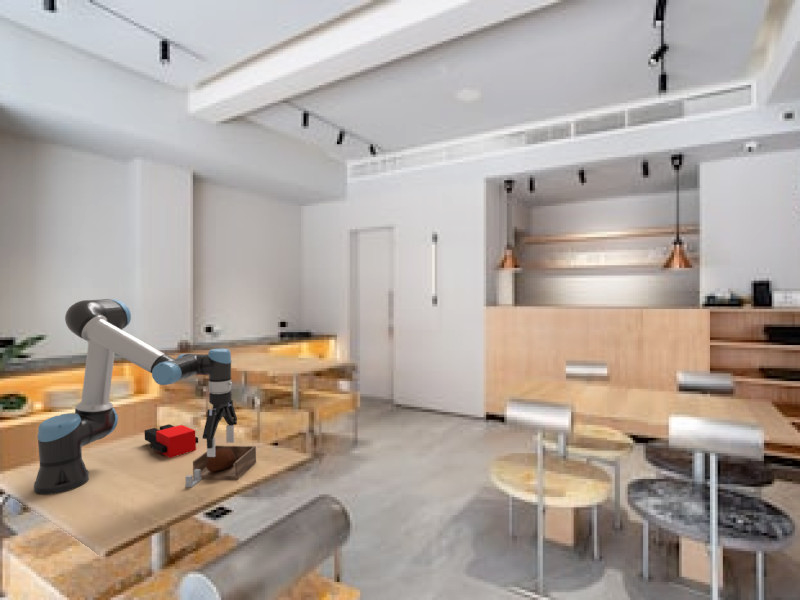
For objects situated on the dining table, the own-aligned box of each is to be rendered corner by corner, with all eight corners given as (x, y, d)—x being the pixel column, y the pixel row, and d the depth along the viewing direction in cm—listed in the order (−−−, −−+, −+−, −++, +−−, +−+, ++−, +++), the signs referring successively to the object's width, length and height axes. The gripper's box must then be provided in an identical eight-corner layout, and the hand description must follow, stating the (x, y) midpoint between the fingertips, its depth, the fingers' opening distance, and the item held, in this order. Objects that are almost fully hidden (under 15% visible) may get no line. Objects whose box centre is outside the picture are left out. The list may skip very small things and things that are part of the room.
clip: (185, 487, 148) (184, 476, 148) (195, 479, 154) (194, 469, 154) (191, 487, 148) (191, 476, 148) (201, 479, 154) (201, 469, 154)
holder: (193, 478, 155) (192, 461, 155) (215, 461, 170) (215, 445, 170) (237, 479, 153) (236, 462, 153) (256, 462, 168) (255, 446, 168)
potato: (242, 465, 163) (241, 444, 163) (217, 477, 152) (216, 455, 152) (226, 461, 166) (226, 441, 166) (201, 474, 156) (201, 452, 155)
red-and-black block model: (173, 418, 199) (200, 429, 184) (174, 436, 200) (200, 448, 184) (138, 426, 188) (163, 439, 172) (139, 445, 189) (164, 459, 173)
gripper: (211, 401, 146) (212, 463, 147) (245, 383, 171) (246, 437, 171) (190, 400, 146) (191, 462, 147) (227, 383, 171) (228, 436, 172)
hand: (221, 449), depth 159 cm, fingers open, 13 cm apart
